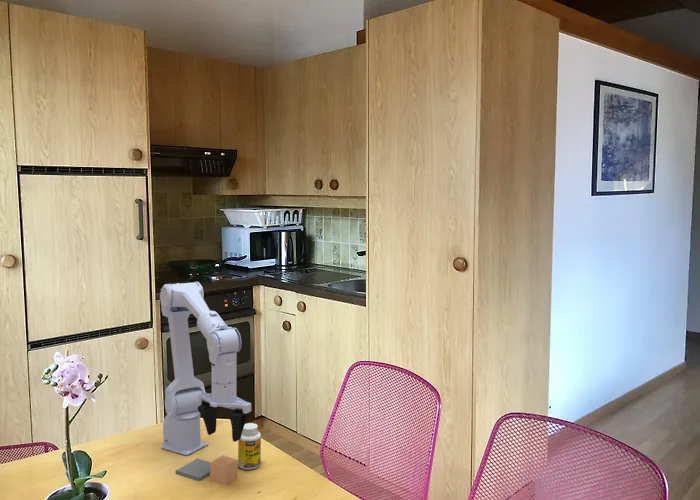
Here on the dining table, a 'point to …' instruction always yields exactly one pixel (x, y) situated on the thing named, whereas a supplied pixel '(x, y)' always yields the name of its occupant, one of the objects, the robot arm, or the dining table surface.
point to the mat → (195, 469)
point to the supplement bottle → (249, 447)
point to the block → (223, 470)
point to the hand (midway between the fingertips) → (224, 436)
